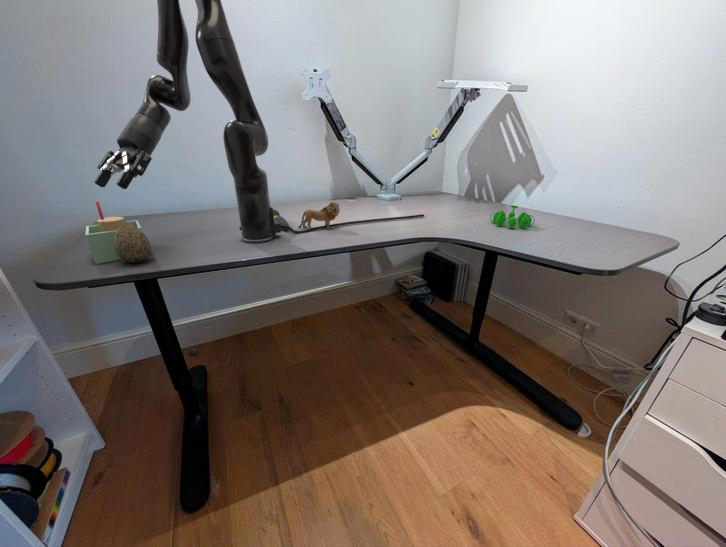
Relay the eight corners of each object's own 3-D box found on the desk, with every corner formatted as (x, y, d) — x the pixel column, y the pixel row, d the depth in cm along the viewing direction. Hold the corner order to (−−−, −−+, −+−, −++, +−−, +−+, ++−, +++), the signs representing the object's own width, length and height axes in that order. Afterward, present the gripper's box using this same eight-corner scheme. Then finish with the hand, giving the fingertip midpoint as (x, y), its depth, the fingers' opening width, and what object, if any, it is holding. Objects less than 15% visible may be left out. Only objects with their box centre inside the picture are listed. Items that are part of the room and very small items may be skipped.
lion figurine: (338, 225, 113) (338, 200, 110) (341, 229, 108) (340, 203, 105) (297, 227, 110) (295, 202, 107) (298, 231, 105) (296, 204, 102)
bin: (144, 245, 91) (137, 220, 88) (148, 254, 83) (141, 227, 80) (95, 253, 84) (86, 226, 81) (95, 264, 77) (85, 234, 74)
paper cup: (138, 250, 85) (123, 199, 80) (116, 256, 80) (99, 203, 75) (125, 247, 87) (109, 197, 82) (103, 253, 82) (85, 201, 77)
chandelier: (488, 227, 112) (491, 208, 109) (490, 218, 125) (493, 201, 122) (535, 232, 107) (539, 211, 104) (531, 222, 120) (535, 204, 117)
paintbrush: (298, 230, 107) (297, 215, 105) (284, 232, 104) (283, 217, 102) (274, 219, 121) (273, 206, 119) (262, 221, 118) (260, 208, 116)
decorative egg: (116, 269, 74) (103, 228, 70) (123, 259, 80) (111, 221, 76) (152, 264, 77) (141, 225, 73) (155, 255, 83) (145, 218, 79)
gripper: (110, 126, 83) (76, 175, 78) (147, 125, 78) (113, 177, 73) (135, 147, 90) (106, 193, 84) (171, 147, 85) (142, 196, 79)
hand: (109, 186), depth 79 cm, fingers open, 8 cm apart
